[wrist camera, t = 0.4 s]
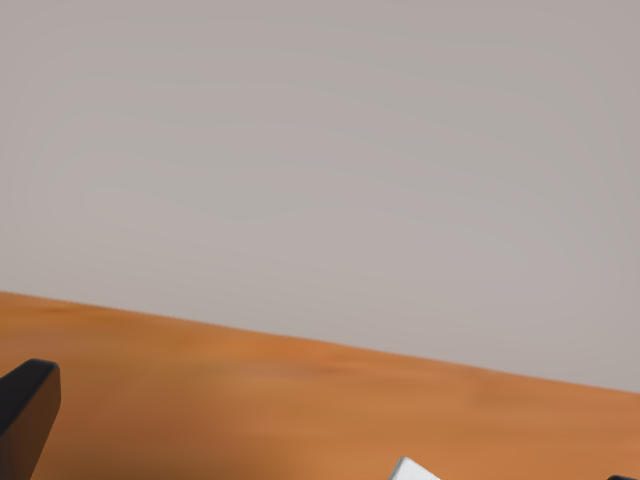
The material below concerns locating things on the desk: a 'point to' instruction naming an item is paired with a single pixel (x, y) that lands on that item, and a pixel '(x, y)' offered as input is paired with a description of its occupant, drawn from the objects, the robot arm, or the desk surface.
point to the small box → (410, 471)
